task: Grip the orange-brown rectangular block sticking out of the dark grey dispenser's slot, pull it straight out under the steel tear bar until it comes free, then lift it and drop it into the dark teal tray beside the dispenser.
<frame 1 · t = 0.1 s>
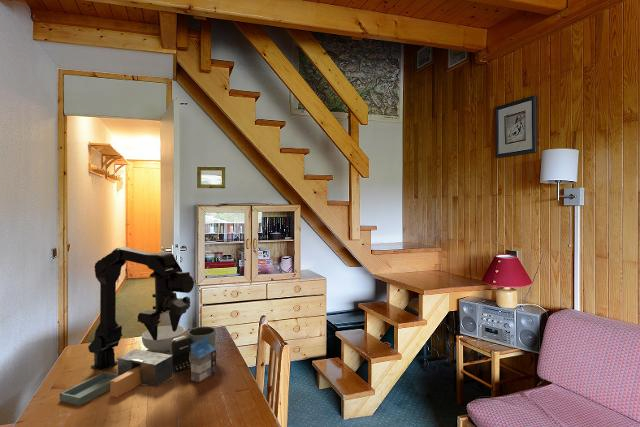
hand: (165, 335, 140), 15 cm above the table, fingers open, 9 cm apart
dispenser: (145, 378, 140), on the table
battery charger: (181, 370, 147), on the table
cereal bowl: (164, 349, 167), on the table
label tape cartridge: (204, 377, 141), on the table
gray cylindrical cup: (202, 362, 153), on the table
orange-brown rectangular block: (128, 388, 133), on the table
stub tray: (93, 391, 131), on the table
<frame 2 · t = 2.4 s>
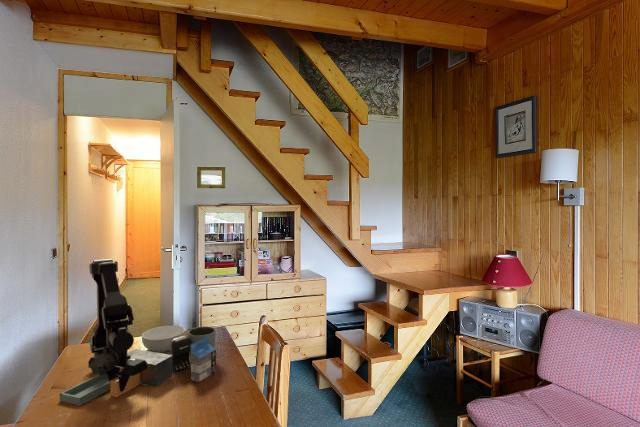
hand: (118, 390, 129), 1 cm above the table, fingers closed on orange-brown rectangular block, 3 cm apart
orange-brown rectangular block: (128, 388, 133), on the table, touching gripper
everything else where it was.
when the fingers open (3 cm above the table, at t = 8.0 s): orange-brown rectangular block drops 1 cm, resting on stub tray.
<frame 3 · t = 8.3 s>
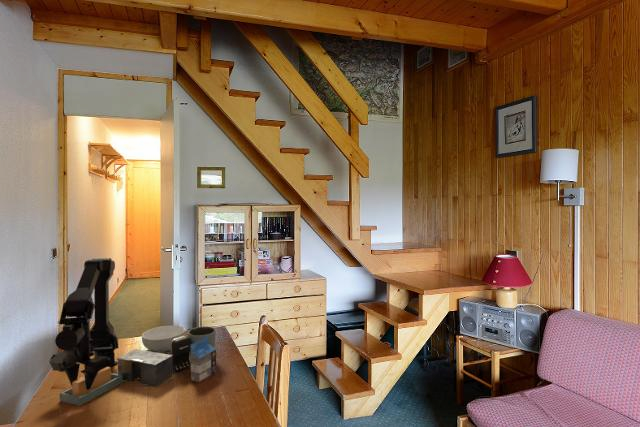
hand: (81, 387, 127), 3 cm above the table, fingers open, 6 cm apart
orange-brown rectangular block: (92, 389, 131), resting on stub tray
everything else where it was.
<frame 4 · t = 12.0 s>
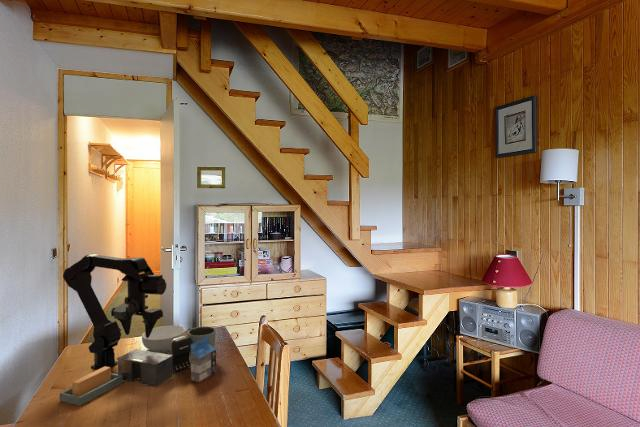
hand: (137, 336, 147), 12 cm above the table, fingers open, 9 cm apart
nothing on the table moved.
at the end: orange-brown rectangular block inside the target area on the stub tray (0.1 cm from its centre), point 0.5 cm above the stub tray's base; orange-brown rectangular block touching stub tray; the gripper is holding nothing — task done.
